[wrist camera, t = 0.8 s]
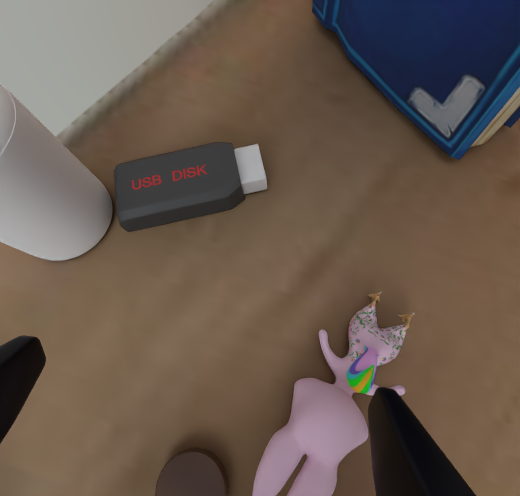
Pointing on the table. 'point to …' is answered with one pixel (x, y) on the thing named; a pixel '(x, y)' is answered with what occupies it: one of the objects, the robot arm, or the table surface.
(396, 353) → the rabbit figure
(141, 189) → the usb drive
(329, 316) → the table surface
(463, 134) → the book
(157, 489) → the spoon
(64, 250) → the pill bottle
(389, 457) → the robot arm
